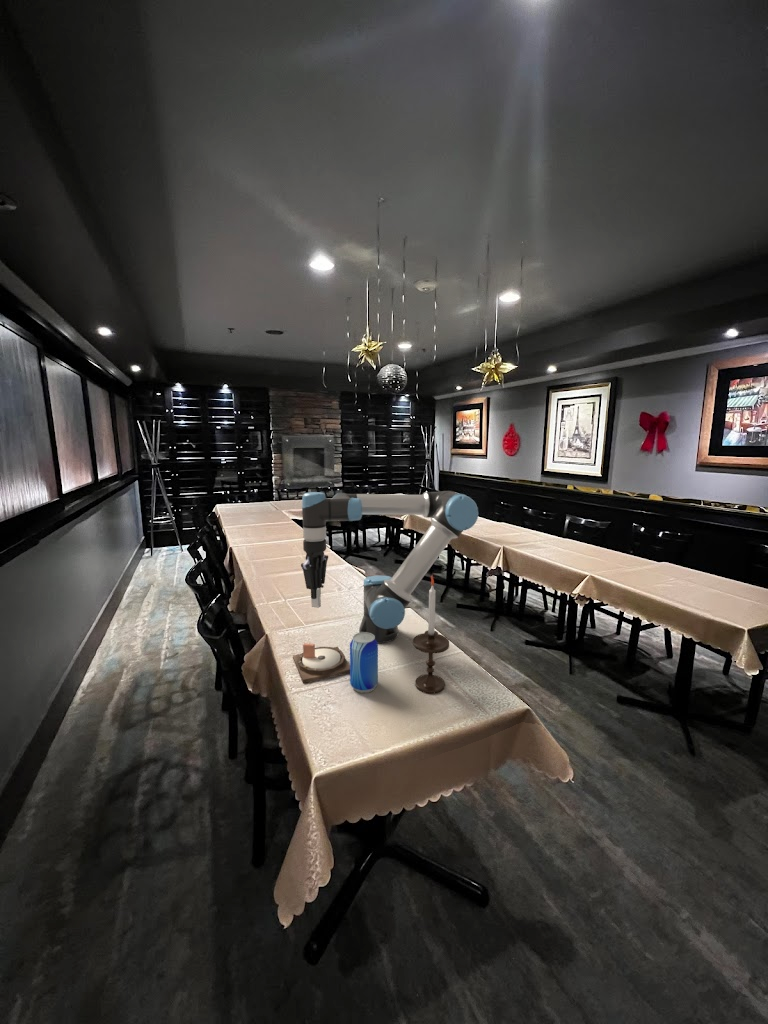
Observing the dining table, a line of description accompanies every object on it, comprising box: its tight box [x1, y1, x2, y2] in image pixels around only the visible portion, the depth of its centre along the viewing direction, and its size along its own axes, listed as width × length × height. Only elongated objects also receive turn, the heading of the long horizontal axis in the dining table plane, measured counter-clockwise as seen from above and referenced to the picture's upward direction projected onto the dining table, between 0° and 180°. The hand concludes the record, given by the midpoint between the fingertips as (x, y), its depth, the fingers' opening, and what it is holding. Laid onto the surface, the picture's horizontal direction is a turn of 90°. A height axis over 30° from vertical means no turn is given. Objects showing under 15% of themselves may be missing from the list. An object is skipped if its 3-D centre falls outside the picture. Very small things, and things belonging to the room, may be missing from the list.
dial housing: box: [292, 646, 350, 684], centre depth 134 cm, size 16×16×3 cm
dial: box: [302, 642, 341, 669], centre depth 134 cm, size 13×13×6 cm
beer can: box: [349, 632, 379, 694], centre depth 121 cm, size 8×8×16 cm
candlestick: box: [412, 574, 450, 695], centre depth 121 cm, size 11×11×35 cm
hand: (316, 606), depth 137 cm, fingers closed
